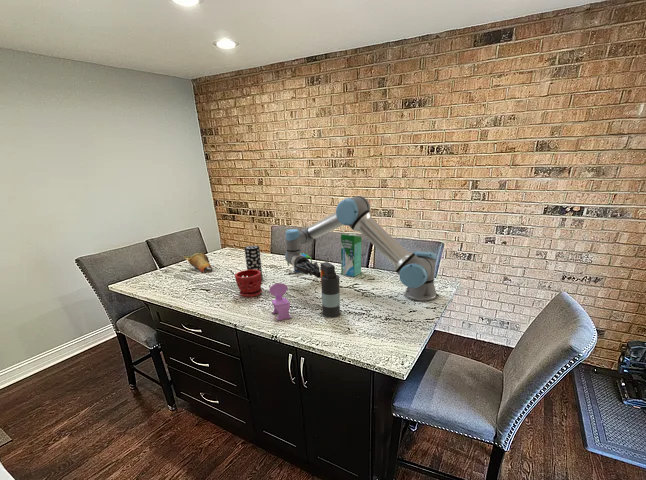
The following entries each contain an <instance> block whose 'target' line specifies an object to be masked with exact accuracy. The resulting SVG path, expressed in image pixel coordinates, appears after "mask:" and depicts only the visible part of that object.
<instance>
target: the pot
mask: <svg viewBox="0 0 646 480" xmlns="http://www.w3.org/2000/svg"><path fill="white" fill-rule="evenodd" d="M182 258H183V259H184V260H186V261H187V262H188V263H189V265H191V266H192V268H196V269H198V270H199V271H200V272H202V273H204V270H205V268H209V269H210V271H211V272H212V271H213V269H212V265H211V264H210V260H209V257H208V255H207V254H205V253H204V252H200V251H199V252H194V253H193V254H191V255H183V256H182Z"/></svg>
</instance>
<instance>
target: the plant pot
mask: <svg viewBox="0 0 646 480" xmlns="http://www.w3.org/2000/svg"><path fill="white" fill-rule="evenodd" d="M250 275H253V276H250ZM234 279H235V282H236V286H237V288H238V290H239V295H241V297H244V298H253V297H257V296H259V295H260V294H262V293H263V289H262V282H263V281H262V279H261V272H260V271H259V270H247V269H244V270H241V271H239V272H236V273H235V274H234Z"/></svg>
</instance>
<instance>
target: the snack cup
mask: <svg viewBox="0 0 646 480" xmlns="http://www.w3.org/2000/svg"><path fill="white" fill-rule="evenodd" d="M301 255H303V256H304V257H306V258H307V259H308V260H310V262H312V263H313V259H312V257H311V256H310V255H309V254H307V253H303V252H302V253H301ZM286 262H287V261H286ZM286 264H287V266H288V267H289V266H290V264H289V263H288V262H287V263H286ZM292 267H293V270H294V272H296V273H300V272H299V271H295V269H294V266H293V265H292Z"/></svg>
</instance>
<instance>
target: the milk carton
mask: <svg viewBox="0 0 646 480" xmlns="http://www.w3.org/2000/svg"><path fill="white" fill-rule="evenodd" d="M340 267H341V268H340V269H341V270H340V271H341V273H340V274H341V275H342V276H348V277H357V276H358V275H359V274H361V273H362V236H360V235H357V233H353V232H349V234H343V233H341V234H340Z"/></svg>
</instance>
